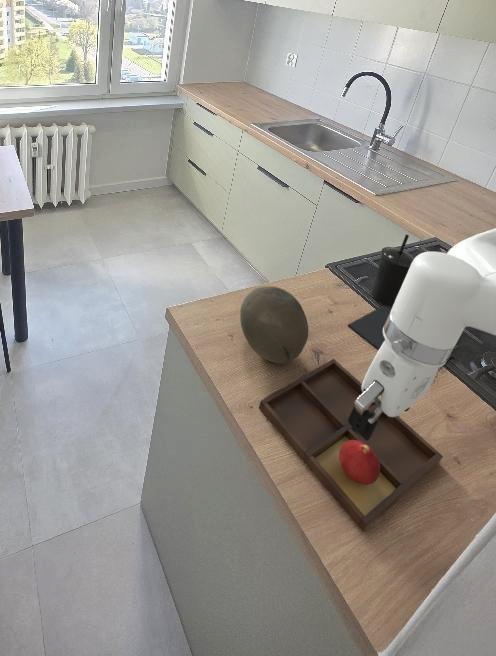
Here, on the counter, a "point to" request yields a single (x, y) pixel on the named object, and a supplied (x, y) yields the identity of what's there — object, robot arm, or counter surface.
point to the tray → (334, 430)
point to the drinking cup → (391, 273)
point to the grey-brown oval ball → (274, 324)
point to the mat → (373, 327)
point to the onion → (359, 462)
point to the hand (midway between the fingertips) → (378, 416)
